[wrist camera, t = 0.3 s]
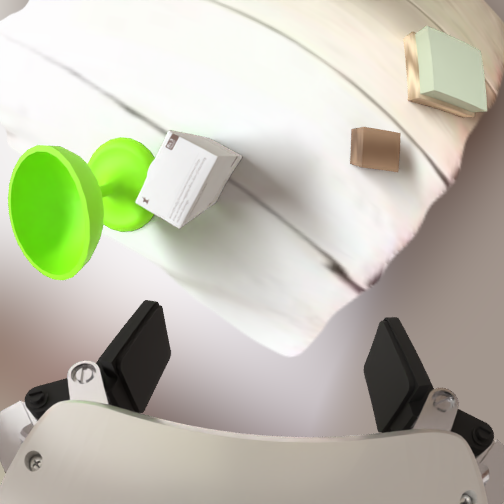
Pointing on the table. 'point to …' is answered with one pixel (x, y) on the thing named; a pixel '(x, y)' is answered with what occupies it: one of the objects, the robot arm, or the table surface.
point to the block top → (450, 70)
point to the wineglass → (75, 202)
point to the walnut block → (375, 149)
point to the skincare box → (186, 177)
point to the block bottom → (414, 82)
